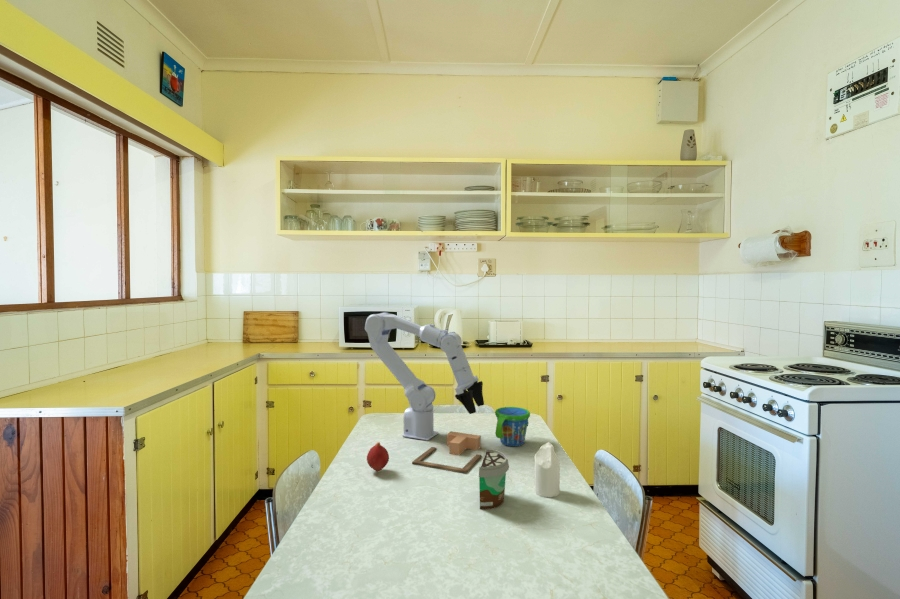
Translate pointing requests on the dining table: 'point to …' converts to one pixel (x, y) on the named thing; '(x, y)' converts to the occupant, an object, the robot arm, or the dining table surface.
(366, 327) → the robot arm
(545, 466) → the white piece
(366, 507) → the dining table surface
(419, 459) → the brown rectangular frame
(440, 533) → the dining table surface
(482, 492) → the food container
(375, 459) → the onion
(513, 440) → the snack cup
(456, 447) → the T block
